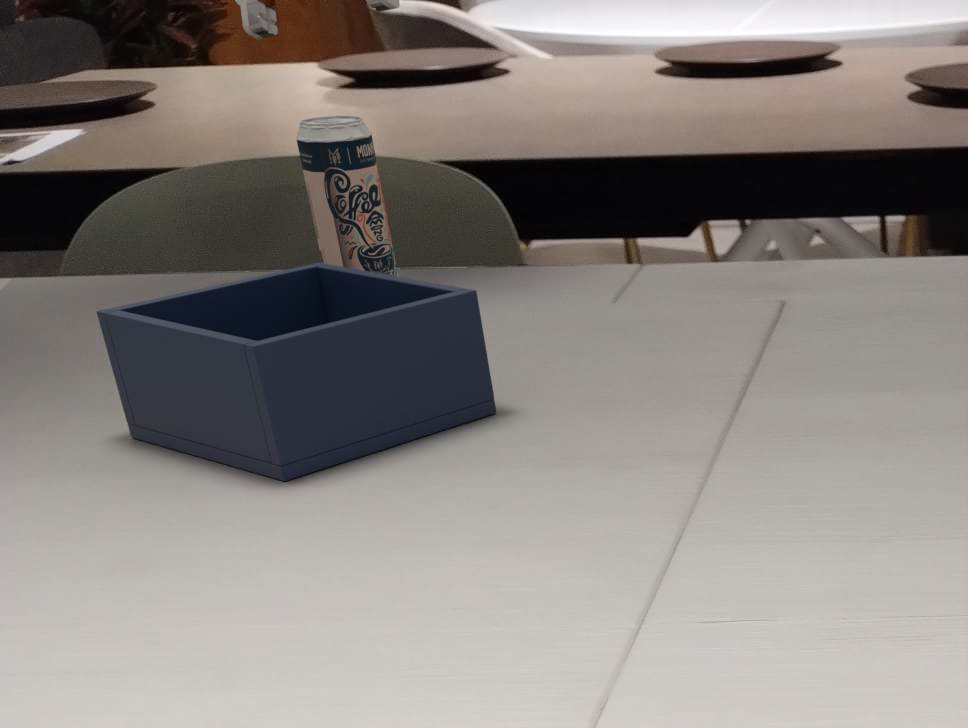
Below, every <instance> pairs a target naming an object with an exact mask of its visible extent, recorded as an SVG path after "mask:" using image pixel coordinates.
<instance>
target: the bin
mask: <svg viewBox="0 0 968 728" xmlns="http://www.w3.org/2000/svg"><path fill="white" fill-rule="evenodd" d="M477 292H478V291H477V290H476V289H471V288H465V287H458V286H452V285H447V284H441V283H438V282H437V283H436V282H431V281H426V280H424V281H423V280H419V279H415V278H414V279H413V278H408V277H402V276H398V277H397V276H392V275H386V274H381V273H375V272H369V271H364V270H358V269H353V268H347V267H341V266H336V265H330V264H325V263H322V262H315V263H311V264H307V265H301V266H296V267H293V268H292V267H291V268H288V269H283V270H278V271H274V272H269V273H265V274H260V275H255V276H251V277H245V278H242V279H237V280H233V281H229V282H224V283H219V284H214V285H209V286H204V287H201V288H196V289H191V290H187V291H182V292H177V293H173V294H170V295H163V296H159V297H155V298H150V299H146V300H142V301H137V302H132V303H127V304H123V305H119V306H113V307H109V308H105V309H100V310H97V311H96V316H97V319H98V323H99V326H100V330H101V333H102V334H101V335H102V337H103V341H104V344H105V348H106V351H107V355H108V359H109V362H110V367H111V370H112V374H113V377H114V382H115V384H116V389H117V391H118V395H119V399H120V402H121V406H122V409H123V413H124V416H125V420H126V423H127V426H128V427H127V428H128V430H129V434H130V438H133V439H136V440H139V441H144V442H147V443H150V444H154V445H157V446H160V447H165V448H167V449H171V450H175V451H178V452H181V453H185V454H188V455H193V456H196V457H199V458H202V459H206V460H209V461H213V462H217V463H220V464H224V465H227V466H231V467H234V468H238V469H241V470H245V471H249V472H251V473H255V474H259V475H263V476H266V477H269V478H273V479H275V480H279V481H283V482H286V481H290V480H293V479H296V478H299V477H302V476H305V475H308V474H311V473H315V472H317V471H321V470H324V469H327V468H330V467H333V466H336V465H340V464H343V463H346V462H348V461H349V462H350V461H351V460H354V459H355V460H356V459H358V458H361V457H364V456H368V455H370V454H374V453H377V452H380V451H383V450H386V449H389V448H392V447H395V446H399V445H401V444H404V443H407V442H410V441H413V440H417V439H420V438H423V437H426V436H429V435H433V434H435V433H438V432H439V433H440V432H442V431H444V430H445V431H446V430H447V429H451V428H454V427H457V426H460V425H463V424H466V423H470V422H473V421H475V420H476V421H477V420H478V419H481V418H485V417H488V416H491V415H494V414H497V408H496V401H495V394H494V393H495V392H494V387H493V382H492V376H491V369H490V364H489V358H488V351H487V347H486V341H485V334H484V328H483V322H482V321H483V320H482V315H481V310H480V304H479V298H478V293H477Z"/></svg>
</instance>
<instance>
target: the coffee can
mask: <svg viewBox="0 0 968 728" xmlns="http://www.w3.org/2000/svg"><path fill="white" fill-rule="evenodd" d="M295 140H296V144H297V149H298V153H299V159H300V163H301V167H302V168H301V169H302V173H303V177H304V182H305V183H304V184H305V187H306V193H307V196H308V201H309V206H310V211H311V217H312V221H313V225H314V226H313V227H314V231H315V234H316V235H315V236H316V239H317V245H318V250H319V254H320V259H321V263H325V264H330V265H336V266H341V267H347V268H353V269H358V270H364V271H369V272H375V273H381V274H386V275H392V276H397V277H399V273H398V268H397V263H396V258H395V257H396V256H395V252H394V247H393V241H392V235H391V229H390V225H389V221H388V215H387V209H386V203H385V199H384V193H383V187H382V183H381V177H380V172H379V166H378V161H377V155H376V151H375V145H374V140H373V133H372V131H371V130H370V129H369V127H368V125H367V124H366V123H365V121H364V120H363V117H360V116H355V115H331V116H319V117H312V118H306V119H302V120H301V121H300V122H299V127H298V131H297V134H296V137H295Z"/></svg>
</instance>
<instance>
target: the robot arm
mask: <svg viewBox="0 0 968 728" xmlns="http://www.w3.org/2000/svg"><path fill="white" fill-rule="evenodd" d="M234 1H235V2H236V4H237V5H238V6H239V7H240V15H241V23H242V29H243V30H244V32H245V33H246V34H247V35H248V36H250V37H251V38H253V39H256V40H261V39H265V38H266V39H267V38H271V37H274V36H277V35H278V34H279V28H278V26H277V22H278V19H277V11H276V10H274V9H272V8H271V7H269V6H266V5H265V4H264V3H263V2H261V1H258V0H234ZM365 2H366V4H367V6H369V7H370V8H371V9H375V11H376V12H378V13H381V12H387V11H390V10H395V9H399V8H400V0H365Z"/></svg>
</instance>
